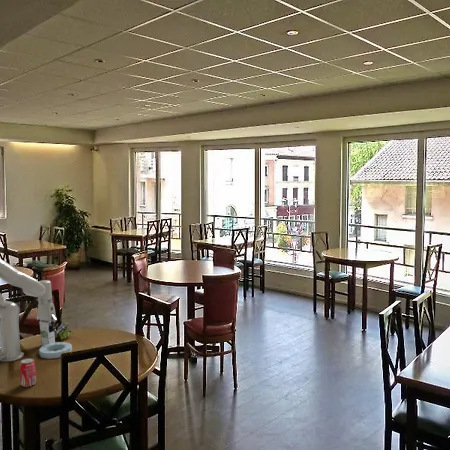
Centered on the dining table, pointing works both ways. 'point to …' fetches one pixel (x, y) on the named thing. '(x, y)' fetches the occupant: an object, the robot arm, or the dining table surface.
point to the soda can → (27, 372)
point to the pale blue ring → (47, 349)
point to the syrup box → (46, 334)
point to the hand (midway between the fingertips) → (47, 330)
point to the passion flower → (62, 328)
